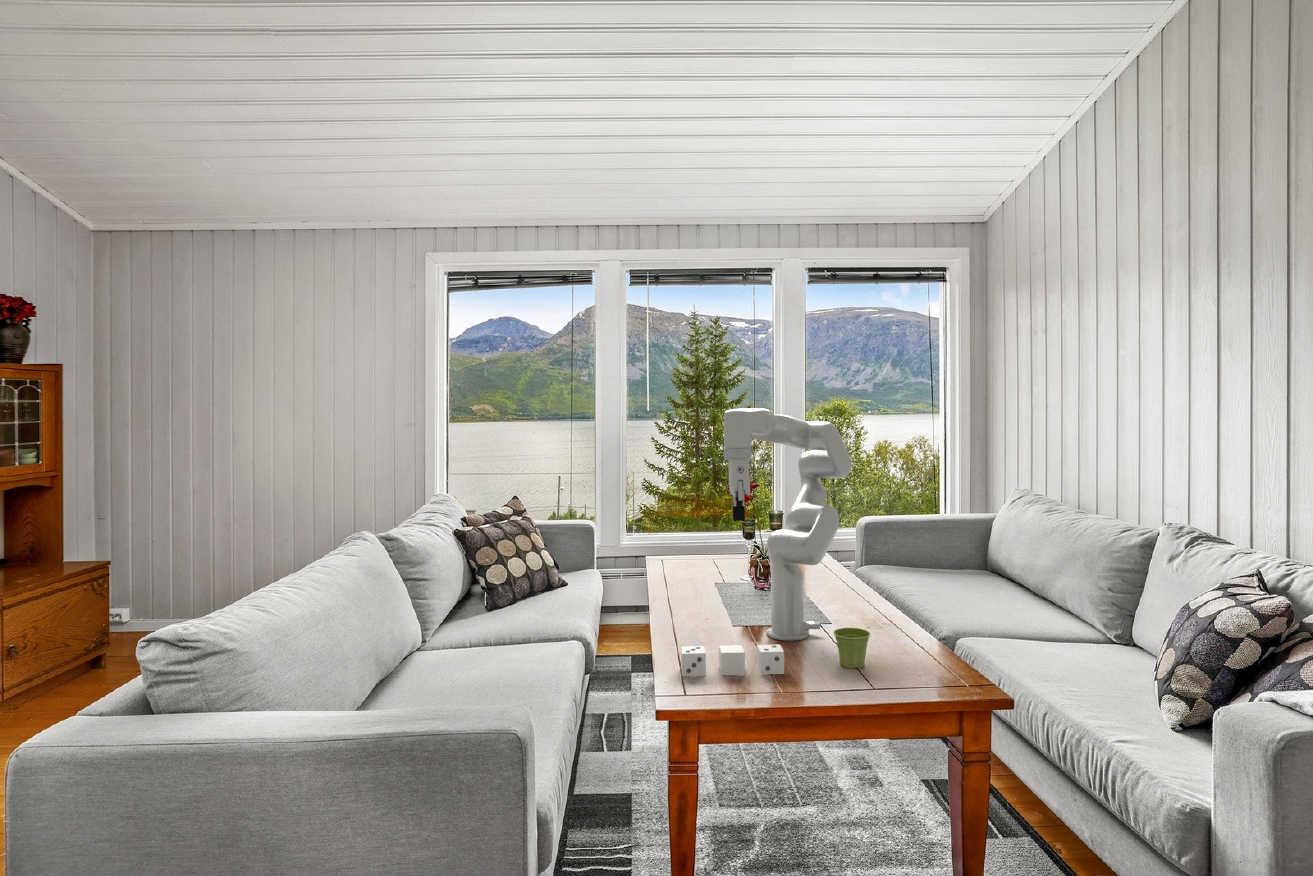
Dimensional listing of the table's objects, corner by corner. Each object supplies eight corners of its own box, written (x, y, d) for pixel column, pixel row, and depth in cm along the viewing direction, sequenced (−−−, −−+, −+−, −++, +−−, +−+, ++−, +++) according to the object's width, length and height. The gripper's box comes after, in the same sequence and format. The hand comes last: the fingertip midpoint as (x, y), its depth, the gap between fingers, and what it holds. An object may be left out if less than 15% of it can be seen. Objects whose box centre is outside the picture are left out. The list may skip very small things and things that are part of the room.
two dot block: (780, 667, 205) (779, 644, 205) (784, 675, 199) (783, 651, 198) (757, 667, 205) (757, 644, 204) (760, 675, 199) (760, 651, 198)
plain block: (742, 667, 205) (741, 645, 204) (745, 675, 199) (744, 652, 198) (719, 668, 205) (719, 645, 204) (721, 676, 199) (721, 652, 198)
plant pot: (864, 673, 199) (864, 639, 198) (828, 667, 204) (828, 634, 203) (875, 663, 206) (874, 630, 206) (840, 657, 211) (840, 625, 211)
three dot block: (704, 668, 205) (703, 645, 204) (706, 676, 199) (705, 653, 198) (681, 669, 205) (680, 646, 204) (682, 677, 198) (682, 653, 198)
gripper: (755, 455, 207) (756, 524, 208) (748, 452, 222) (748, 516, 223) (727, 456, 207) (728, 524, 208) (721, 452, 222) (722, 517, 223)
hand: (738, 520), depth 215 cm, fingers closed
